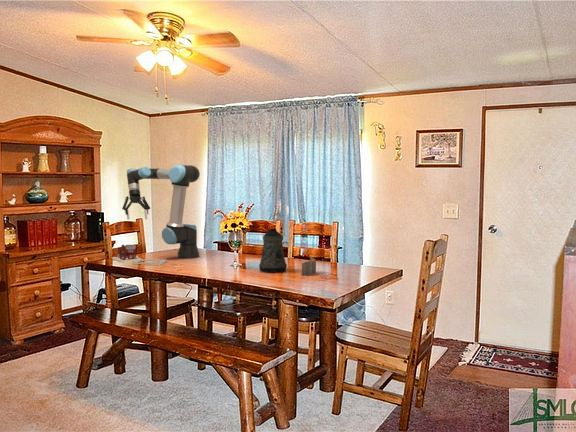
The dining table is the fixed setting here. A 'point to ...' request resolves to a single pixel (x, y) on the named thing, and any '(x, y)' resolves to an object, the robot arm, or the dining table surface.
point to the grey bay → (150, 263)
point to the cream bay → (125, 259)
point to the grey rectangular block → (309, 267)
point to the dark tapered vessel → (272, 253)
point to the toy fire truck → (127, 252)
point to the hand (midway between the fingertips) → (137, 219)
